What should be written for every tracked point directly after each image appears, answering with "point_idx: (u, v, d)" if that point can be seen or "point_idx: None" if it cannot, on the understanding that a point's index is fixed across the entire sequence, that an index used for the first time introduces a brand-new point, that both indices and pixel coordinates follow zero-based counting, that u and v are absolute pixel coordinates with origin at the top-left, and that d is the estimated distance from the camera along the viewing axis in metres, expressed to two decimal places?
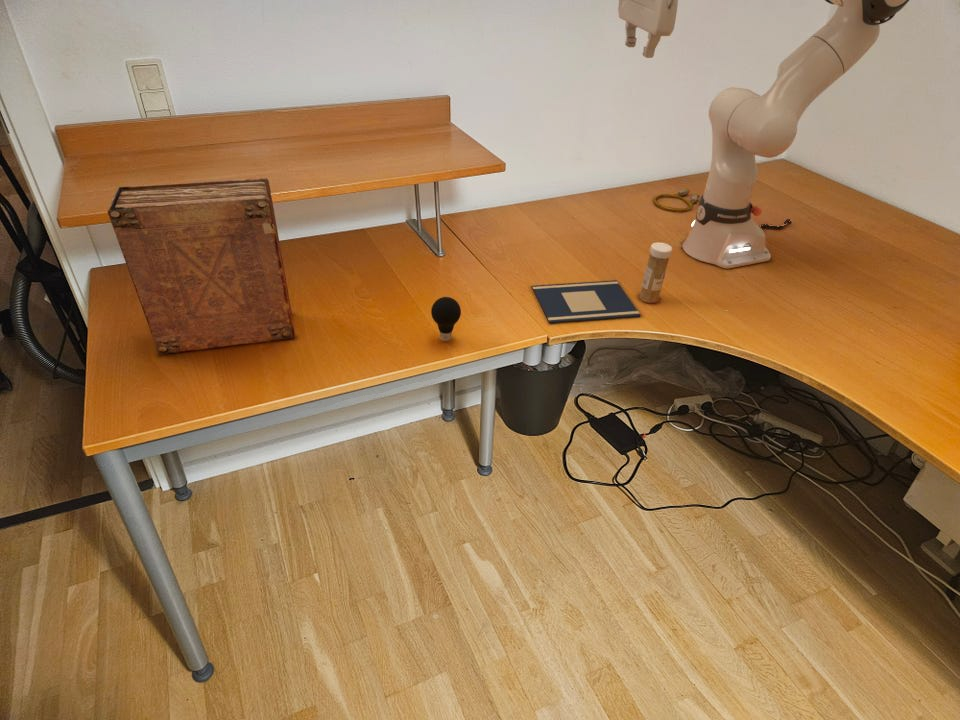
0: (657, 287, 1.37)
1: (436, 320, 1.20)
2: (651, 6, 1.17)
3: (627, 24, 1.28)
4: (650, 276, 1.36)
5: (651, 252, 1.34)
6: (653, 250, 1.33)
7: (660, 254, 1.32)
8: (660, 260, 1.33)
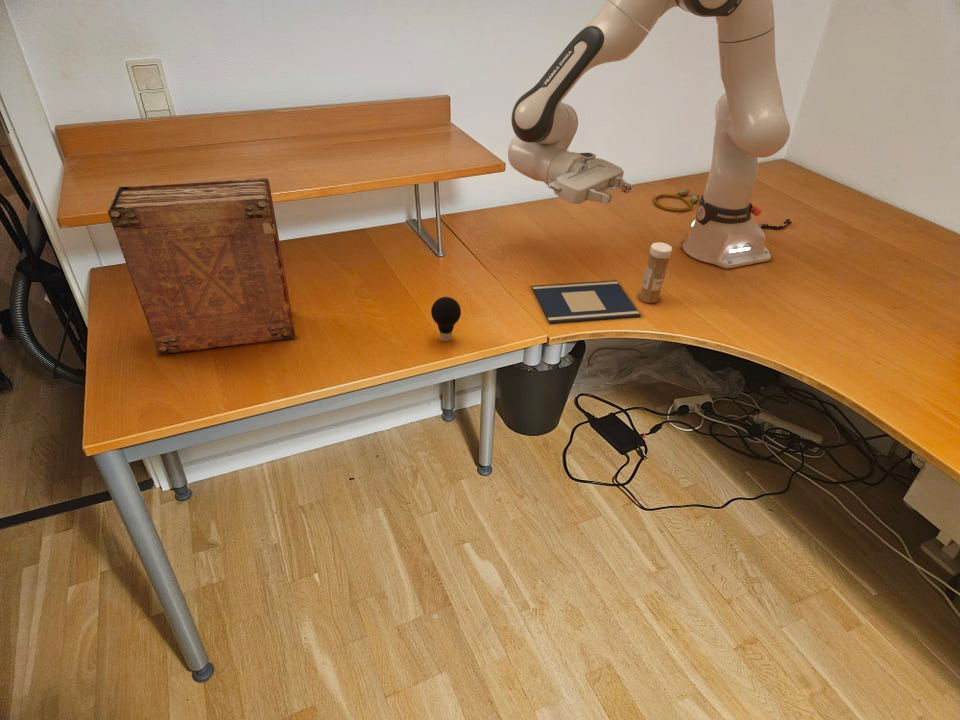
0: (657, 287, 1.37)
1: (436, 320, 1.20)
2: None
3: None
4: (650, 276, 1.36)
5: (651, 252, 1.34)
6: (653, 250, 1.33)
7: (660, 254, 1.32)
8: (660, 260, 1.33)
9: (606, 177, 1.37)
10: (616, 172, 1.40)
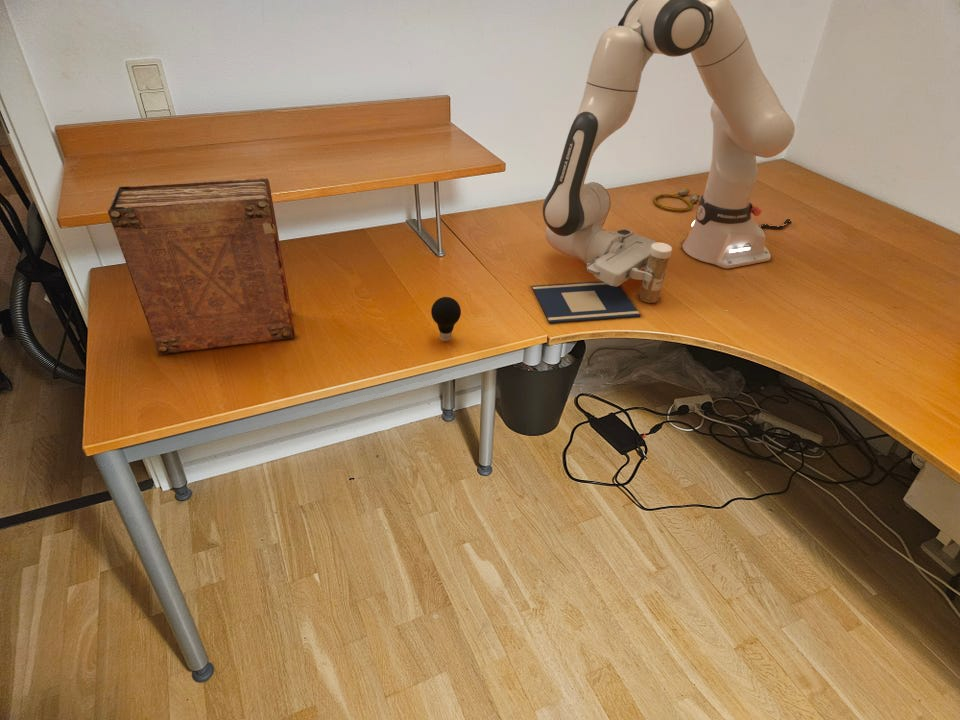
0: (657, 287, 1.37)
1: (436, 320, 1.20)
2: None
3: None
4: None
5: (651, 252, 1.34)
6: (653, 250, 1.33)
7: (660, 254, 1.32)
8: (660, 260, 1.33)
9: (644, 256, 1.39)
10: None
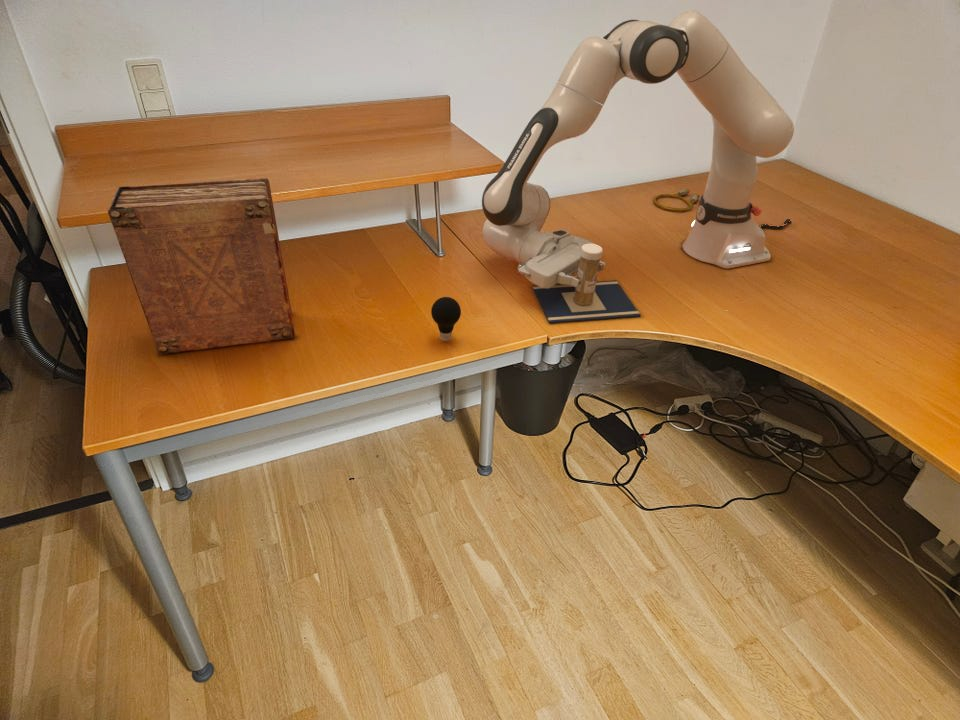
0: (589, 289, 1.34)
1: (436, 320, 1.20)
2: None
3: None
4: (581, 278, 1.33)
5: (581, 253, 1.30)
6: (583, 251, 1.30)
7: (590, 256, 1.29)
8: (590, 262, 1.30)
9: (578, 257, 1.36)
10: None
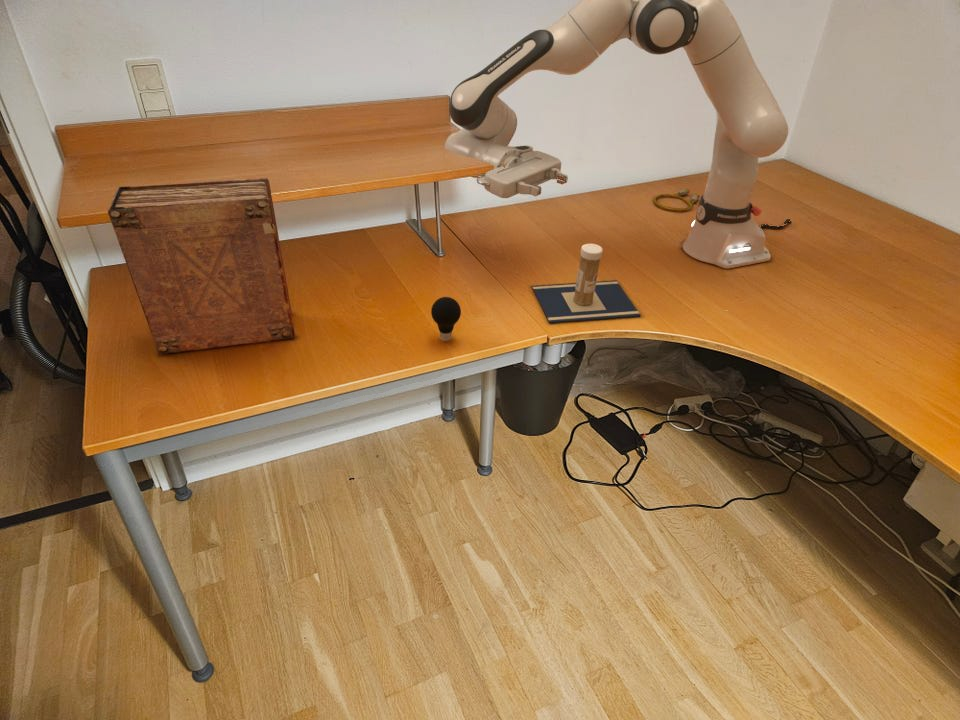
0: (589, 289, 1.34)
1: (436, 320, 1.20)
2: None
3: None
4: (581, 278, 1.33)
5: (581, 253, 1.30)
6: (583, 251, 1.30)
7: (590, 256, 1.29)
8: (590, 262, 1.30)
9: (539, 169, 1.33)
10: (552, 163, 1.36)
